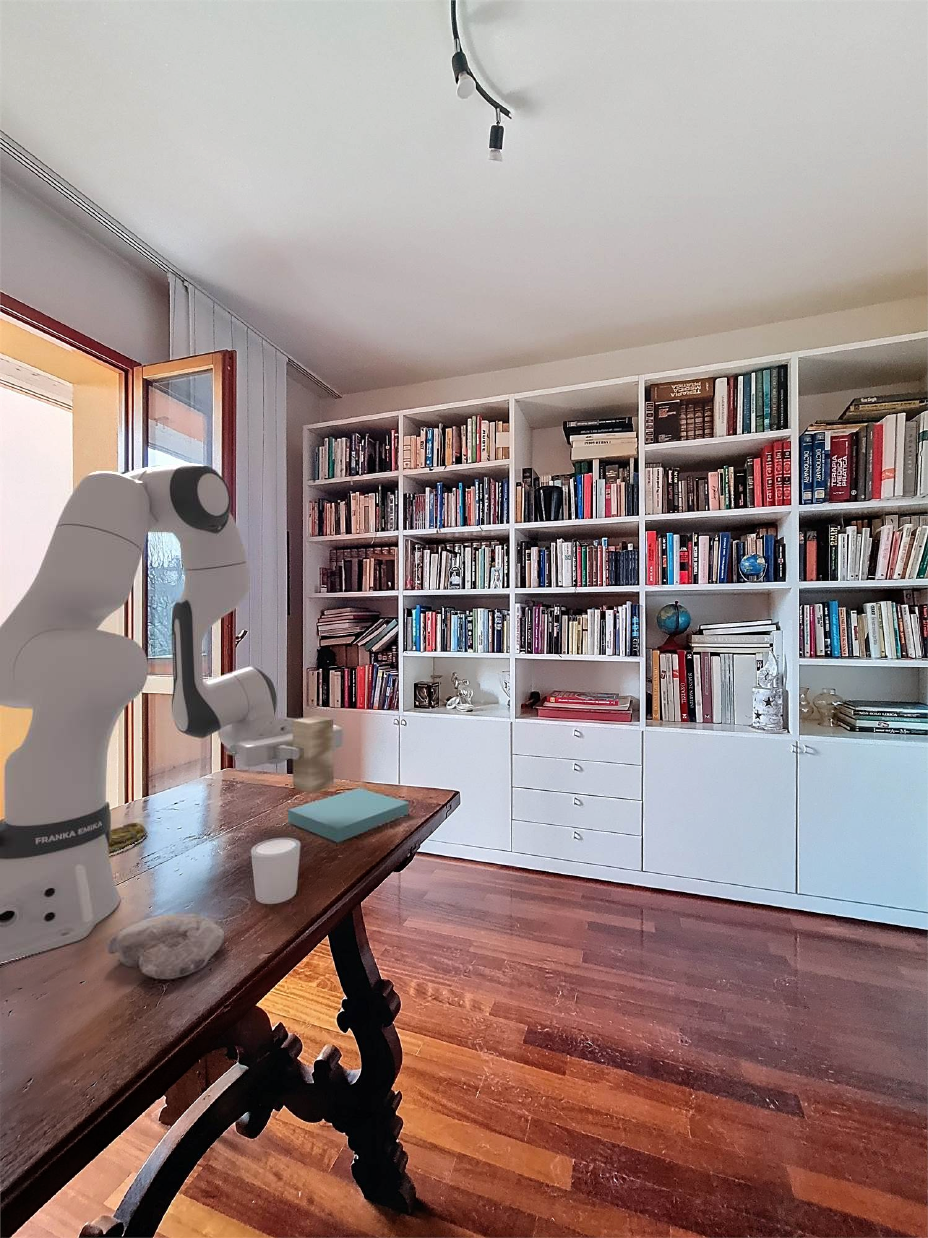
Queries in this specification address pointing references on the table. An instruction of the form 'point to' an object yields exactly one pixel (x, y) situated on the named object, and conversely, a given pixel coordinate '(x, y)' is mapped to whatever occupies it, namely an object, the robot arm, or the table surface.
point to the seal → (125, 836)
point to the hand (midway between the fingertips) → (316, 750)
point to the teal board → (347, 814)
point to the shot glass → (275, 869)
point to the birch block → (313, 754)
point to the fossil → (168, 944)
